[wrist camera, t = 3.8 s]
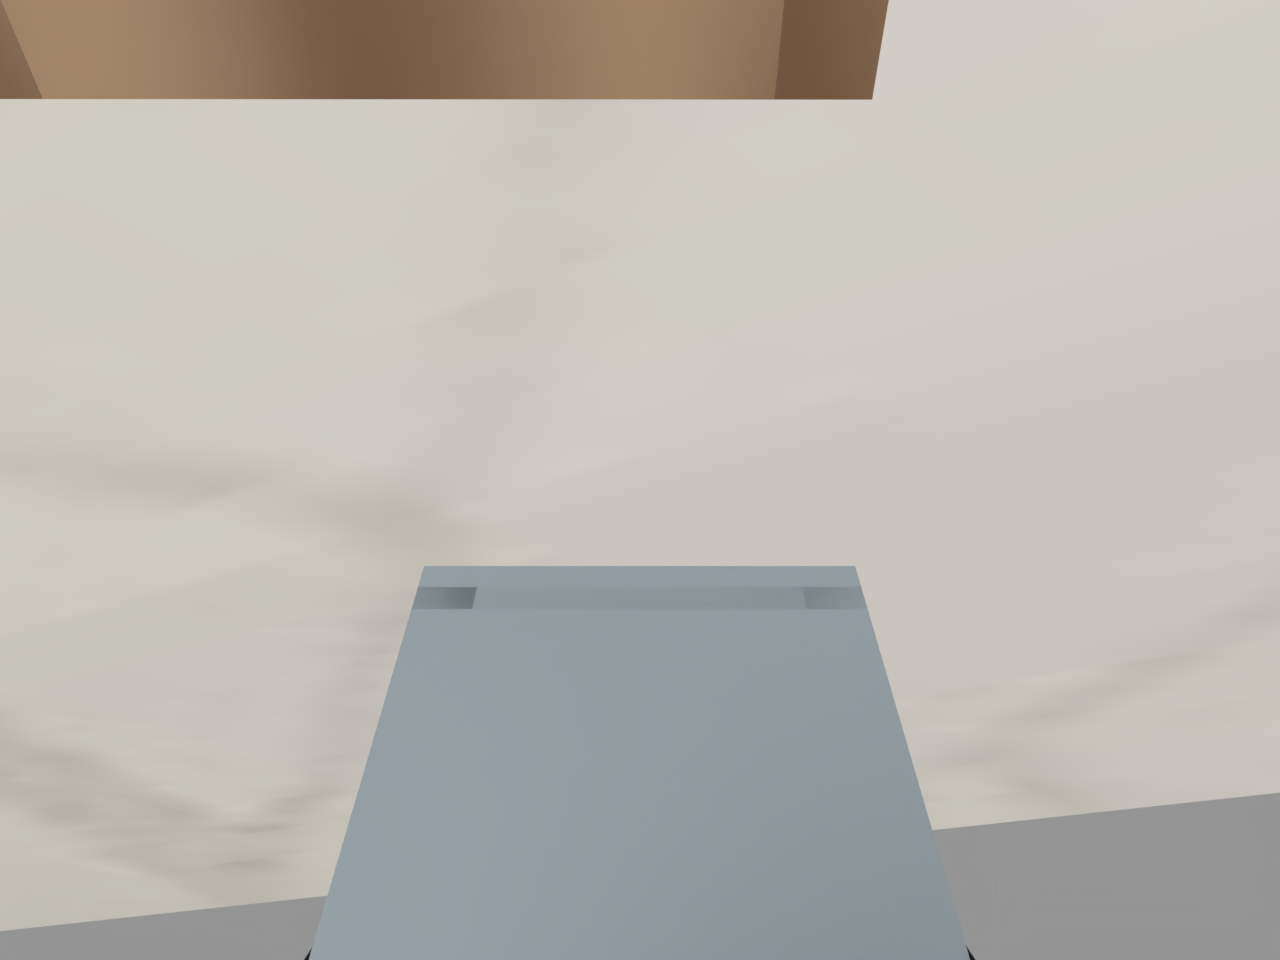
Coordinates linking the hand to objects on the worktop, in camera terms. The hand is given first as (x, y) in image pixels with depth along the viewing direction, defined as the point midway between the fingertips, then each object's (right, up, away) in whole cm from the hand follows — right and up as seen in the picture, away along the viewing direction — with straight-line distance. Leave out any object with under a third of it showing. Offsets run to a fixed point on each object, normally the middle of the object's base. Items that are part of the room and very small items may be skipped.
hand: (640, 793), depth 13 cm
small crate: (0, +1, +1) cm, 1 cm away
